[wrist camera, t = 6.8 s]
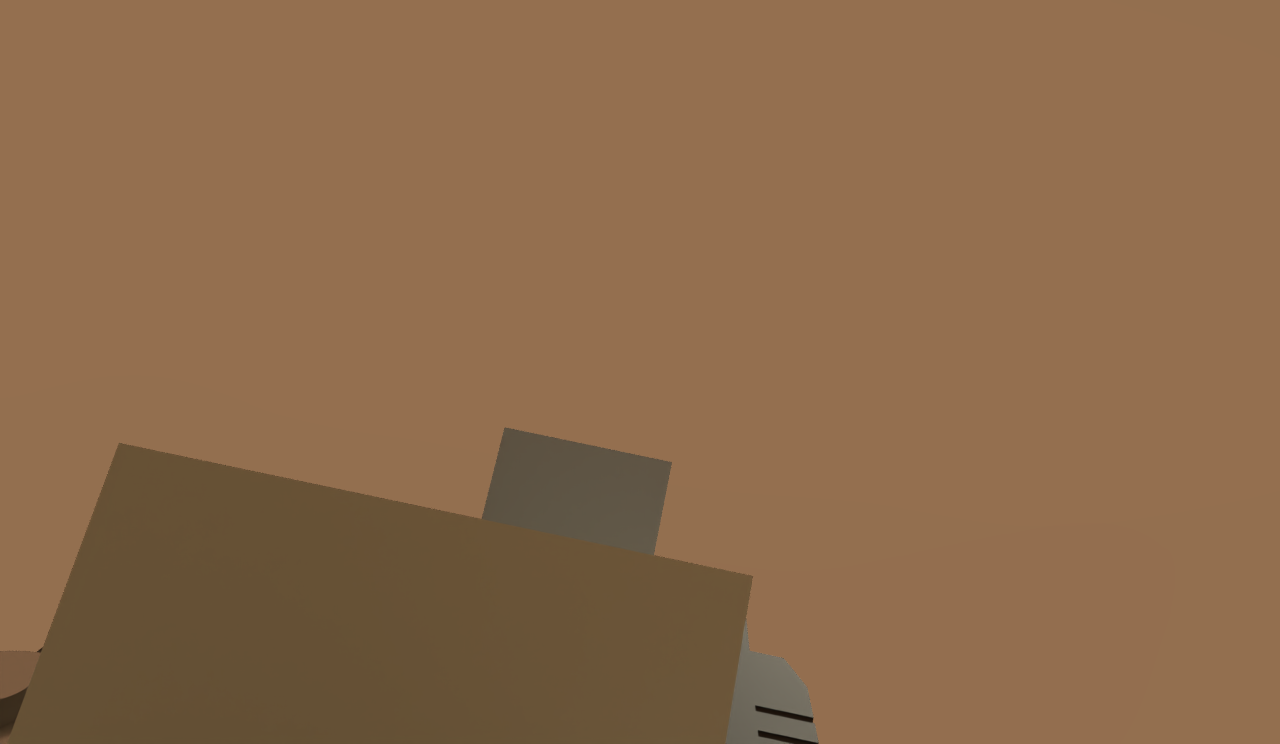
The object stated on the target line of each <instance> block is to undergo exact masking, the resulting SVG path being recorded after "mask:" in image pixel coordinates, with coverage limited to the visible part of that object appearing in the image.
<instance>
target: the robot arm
mask: <svg viewBox="0 0 1280 744" xmlns="http://www.w3.org/2000/svg"><path fill="white" fill-rule="evenodd" d="M41 651H42V648H41V649H40V650H39V651H37V652H30V651H0V744H7V742H8V740H9V737H10V734H11V732H12V729H13V726H14V724H15V721H16V718H17V715H18V713H19V710H20V707H21V705H22V702H23V699H24V697H25V694H26V691H27V689H28V686H29V683H30V681H31V678H32V675H33V673H34V670H35V667H36V665H37V662H38V659H39V656H40V654H41ZM725 744H818V738H817V733H816V728H815V724H814V723H813V714H812V708H811V703H810V699H809V694H808V689H807V687H806V685H805V684H804V683H803V682H802V680H801V679H800V678H799V677H798V676H797V674H796V673H795V672H794V670H793V669H792V668H791V667H790V666H789V664H788V663H787V662H786V661H785V660H784V658H780V657H776V656H771V655H766V654H762V653H757V652H752V651H749V642H748V632H747V623H746V621H745V627H744V633H743V639H742V645H741V651H740V657H739V664H738V670H737V676H736V682H735V688H734V694H733V700H732V706H731V712H730V718H729V725H728V731H727V737H726V743H725Z"/></svg>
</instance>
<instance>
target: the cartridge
mask: <svg viewBox="0 0 1280 744" xmlns="http://www.w3.org/2000/svg"><path fill="white" fill-rule="evenodd" d="M671 464H672V462H668V461H663V460H659V459H654V458H649V457H644V456H639V455H635V454H630V453H625V452H620V451H615V450H611V449H605V448H601V447H596V446H591V445H586V444H582V443H577V442H572V441H567V440H562V439H558V438H553V437H548V436H543V435H538V434H534V433H529V432H524V431H519V430H515V429H509V428H504V432H503V436H502V440H501V444H500V448H499V452H498V456H497V460H496V464H495V468H494V472H493V476H492V480H491V484H490V488H489V492H488V496H487V500H486V504H485V508H484V512H483V516H482V519H479V518H474V517H469V516H464V515H459V514H455V513H450V512H445V511H441V510H435V509H431V508H426V507H421V506H417V505H412V504H407V503H403V502H398V501H393V500H388V499H384V498H379V497H374V496H369V495H364V494H360V493H355V492H350V491H345V490H341V489H336V488H331V487H326V486H321V485H317V484H312V483H307V482H303V481H298V480H293V479H288V478H283V477H279V476H274V475H269V474H264V473H260V472H255V471H250V470H245V469H241V468H235V467H231V466H226V465H222V464H217V463H212V462H207V461H202V460H198V459H193V458H188V457H183V456H179V455H174V454H169V453H164V452H159V451H155V450H150V449H145V448H140V447H136V446H131V445H126V444H122V443H119V445H118V448H117V450H116V453H115V455H114V458H113V461H112V464H111V466H110V469H109V471H108V474H107V477H106V479H105V482H104V485H103V487H102V490H101V493H100V496H99V498H98V501H97V504H96V506H95V509H94V512H93V514H92V517H91V520H90V522H89V525H88V528H87V530H86V533H85V536H84V538H83V541H82V544H81V547H80V549H79V552H78V555H77V557H76V560H75V563H74V565H73V568H72V571H71V573H70V576H69V579H68V582H67V584H66V587H65V589H64V592H63V595H62V598H61V600H60V603H59V606H58V608H57V611H56V614H55V616H54V619H53V622H52V624H51V627H50V630H49V632H48V635H47V638H46V641H45V643H44V646H43V648H42V651H41V654H40V656H39V659H38V662H37V665H36V667H35V670H34V673H33V675H32V678H31V681H30V683H29V686H28V689H27V691H26V694H25V697H24V699H23V702H22V705H21V707H20V710H19V713H18V715H17V718H16V721H15V724H14V726H13V729H12V732H11V734H10V737H9V740H8V742H7V744H725V743H726V737H727V731H728V725H729V718H730V712H731V706H732V700H733V694H734V688H735V682H736V676H737V670H738V664H739V657H740V651H741V645H742V639H743V633H744V627H745V621H746V615H747V609H748V602H749V596H750V590H751V584H752V578H753V576H750V575H745V574H740V573H736V572H731V571H726V570H722V569H717V568H712V567H707V566H703V565H698V564H693V563H688V562H683V561H679V560H674V559H669V558H665V557H660V556H655V555H654V551H655V546H656V541H657V536H658V531H659V525H660V520H661V515H662V510H663V505H664V499H665V495H666V489H667V484H668V479H669V474H670V469H671Z"/></svg>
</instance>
